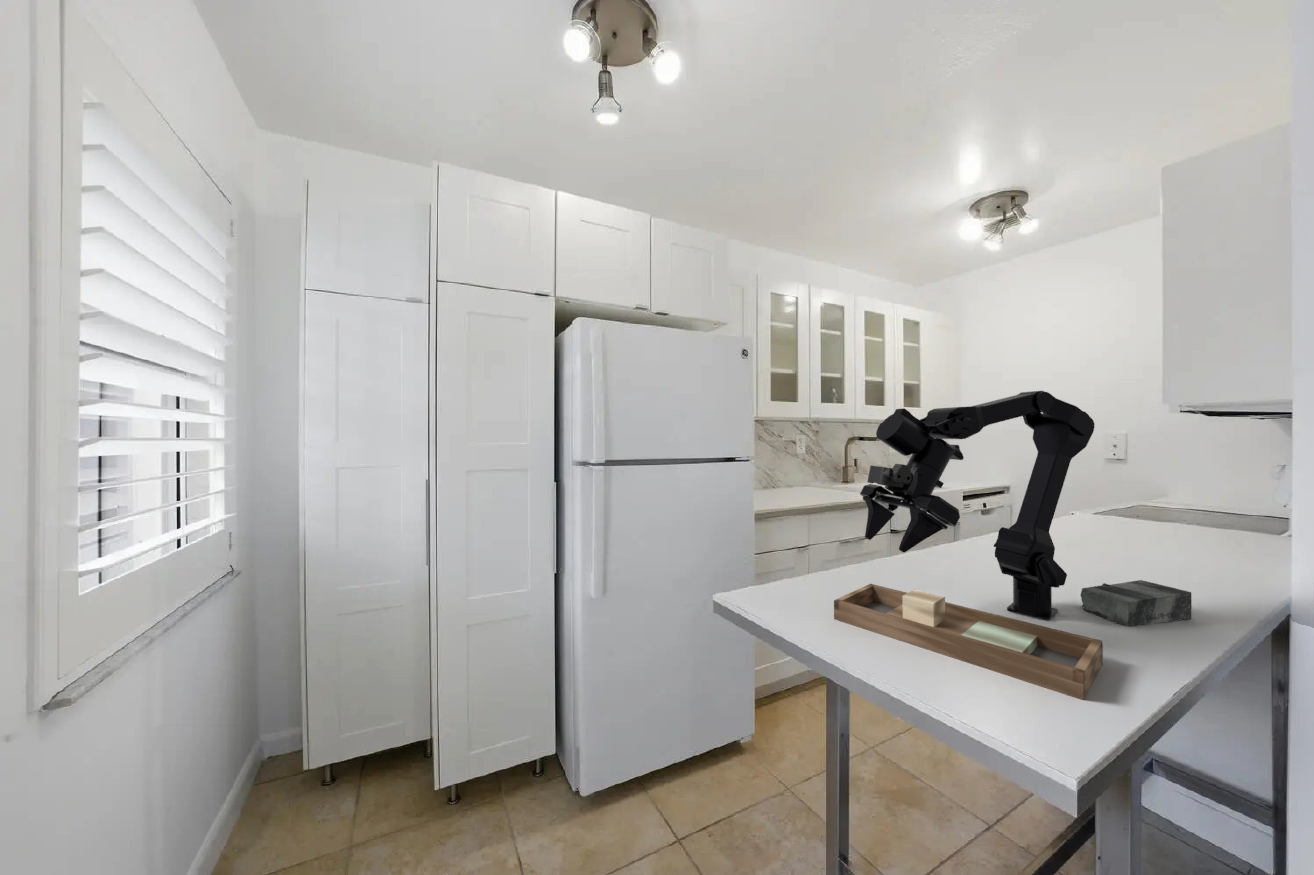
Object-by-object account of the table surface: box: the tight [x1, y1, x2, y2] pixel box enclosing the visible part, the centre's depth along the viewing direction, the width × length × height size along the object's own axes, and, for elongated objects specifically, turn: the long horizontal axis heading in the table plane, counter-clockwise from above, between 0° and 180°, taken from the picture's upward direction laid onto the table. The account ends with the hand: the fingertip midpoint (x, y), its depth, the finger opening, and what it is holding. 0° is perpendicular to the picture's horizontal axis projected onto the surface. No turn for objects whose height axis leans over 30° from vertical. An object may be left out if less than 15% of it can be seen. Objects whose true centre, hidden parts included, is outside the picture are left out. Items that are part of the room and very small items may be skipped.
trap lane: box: [833, 583, 1104, 700], centre depth 79 cm, size 14×35×4 cm, turn 39°
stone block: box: [1080, 579, 1193, 628], centre depth 87 cm, size 9×14×5 cm, turn 100°
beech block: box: [902, 589, 946, 627], centre depth 82 cm, size 5×5×4 cm
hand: (883, 544), depth 84 cm, fingers open, 9 cm apart
